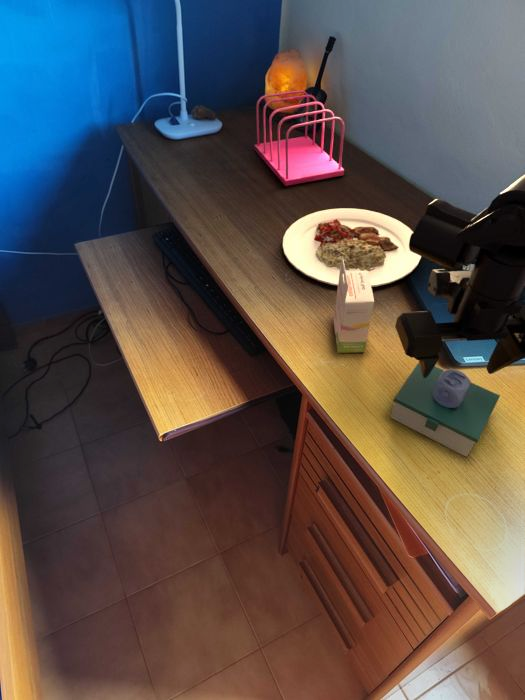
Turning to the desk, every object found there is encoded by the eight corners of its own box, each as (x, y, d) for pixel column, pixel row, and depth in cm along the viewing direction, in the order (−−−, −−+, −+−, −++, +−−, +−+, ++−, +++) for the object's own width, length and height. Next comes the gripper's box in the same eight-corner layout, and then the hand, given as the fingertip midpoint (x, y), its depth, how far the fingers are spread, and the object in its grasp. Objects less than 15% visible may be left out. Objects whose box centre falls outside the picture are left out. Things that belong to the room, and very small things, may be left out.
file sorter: (285, 187, 124) (285, 126, 112) (254, 150, 140) (252, 93, 129) (343, 175, 127) (350, 115, 116) (307, 141, 144) (309, 85, 133)
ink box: (365, 353, 81) (379, 287, 71) (337, 353, 82) (346, 287, 71) (359, 320, 87) (370, 254, 77) (332, 320, 88) (340, 254, 77)
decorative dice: (466, 395, 68) (474, 377, 65) (454, 412, 66) (463, 395, 63) (440, 382, 70) (447, 364, 67) (428, 398, 68) (435, 381, 65)
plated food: (387, 312, 89) (390, 298, 86) (256, 264, 100) (256, 250, 98) (438, 237, 106) (442, 224, 103) (321, 203, 117) (322, 191, 115)
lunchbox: (489, 413, 72) (501, 393, 68) (466, 461, 66) (477, 442, 63) (414, 378, 77) (421, 357, 74) (386, 419, 72) (392, 399, 68)
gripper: (541, 241, 59) (498, 329, 70) (396, 248, 59) (376, 336, 70) (588, 297, 51) (532, 386, 63) (422, 307, 51) (395, 395, 62)
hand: (456, 373), depth 65 cm, fingers open, 9 cm apart
